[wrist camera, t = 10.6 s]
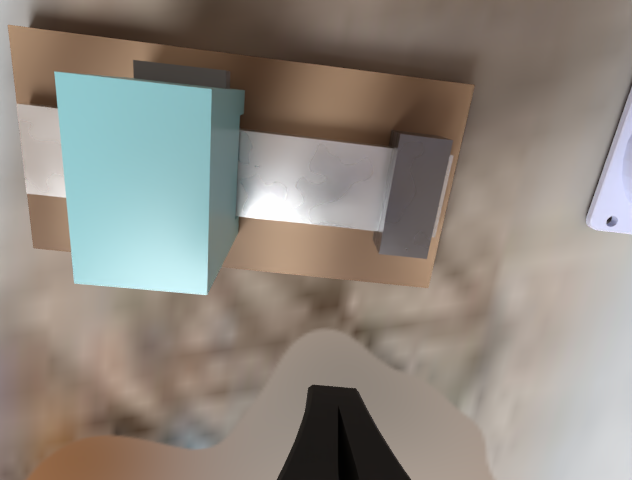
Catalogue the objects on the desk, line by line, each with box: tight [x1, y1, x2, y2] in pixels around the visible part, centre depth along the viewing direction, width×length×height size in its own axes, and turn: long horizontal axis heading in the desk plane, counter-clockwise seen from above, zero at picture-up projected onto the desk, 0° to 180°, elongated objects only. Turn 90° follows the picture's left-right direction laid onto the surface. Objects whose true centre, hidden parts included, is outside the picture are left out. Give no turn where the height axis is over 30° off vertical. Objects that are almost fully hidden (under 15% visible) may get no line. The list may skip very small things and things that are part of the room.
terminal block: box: [54, 60, 245, 295], centre depth 14 cm, size 4×7×6 cm, turn 174°
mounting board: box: [8, 25, 475, 288], centre depth 18 cm, size 18×9×1 cm, turn 83°
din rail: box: [16, 103, 453, 259], centre depth 17 cm, size 17×5×2 cm, turn 83°
